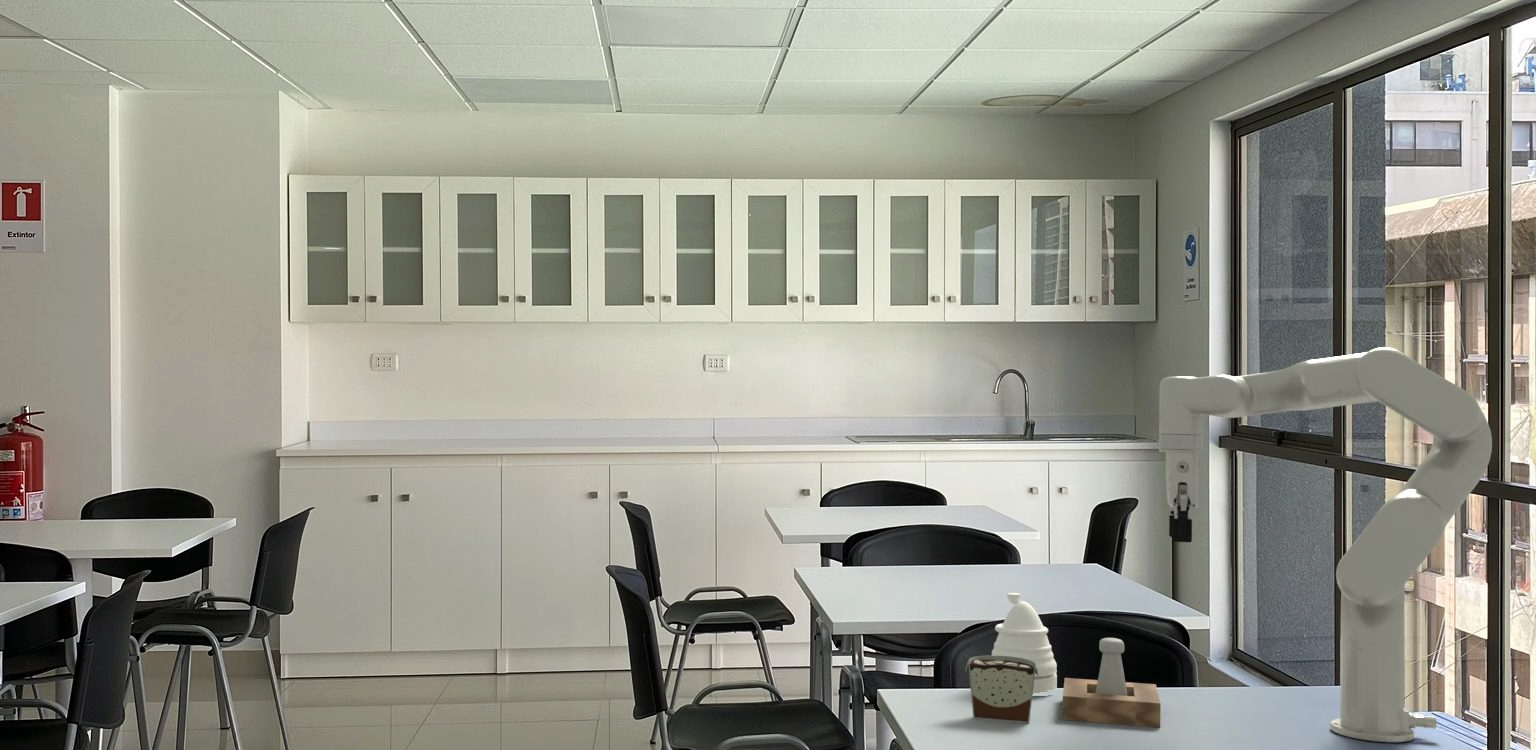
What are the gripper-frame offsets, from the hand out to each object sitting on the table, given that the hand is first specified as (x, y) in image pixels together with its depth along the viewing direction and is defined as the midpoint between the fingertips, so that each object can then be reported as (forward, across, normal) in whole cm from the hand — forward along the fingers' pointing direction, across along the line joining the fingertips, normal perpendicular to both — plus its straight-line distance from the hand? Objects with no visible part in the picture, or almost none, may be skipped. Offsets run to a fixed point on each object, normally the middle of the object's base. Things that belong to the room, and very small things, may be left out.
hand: (1180, 539), depth 220 cm
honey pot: (+31, +7, +28) cm, 42 cm away
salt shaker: (+31, -8, +12) cm, 34 cm away
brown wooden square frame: (+30, -8, +12) cm, 33 cm away
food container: (+31, -17, +30) cm, 46 cm away
